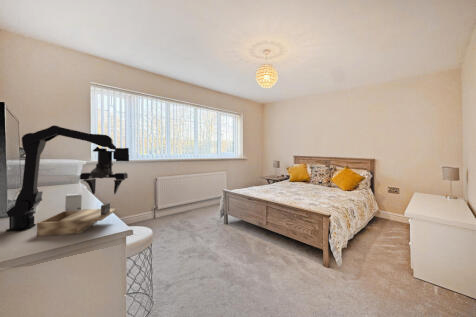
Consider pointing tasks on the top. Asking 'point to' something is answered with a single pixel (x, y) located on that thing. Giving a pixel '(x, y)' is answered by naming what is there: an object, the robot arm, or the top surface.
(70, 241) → the top surface
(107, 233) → the top surface
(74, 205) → the skincare box
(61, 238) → the top surface
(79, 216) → the lid
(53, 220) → the brown piece
